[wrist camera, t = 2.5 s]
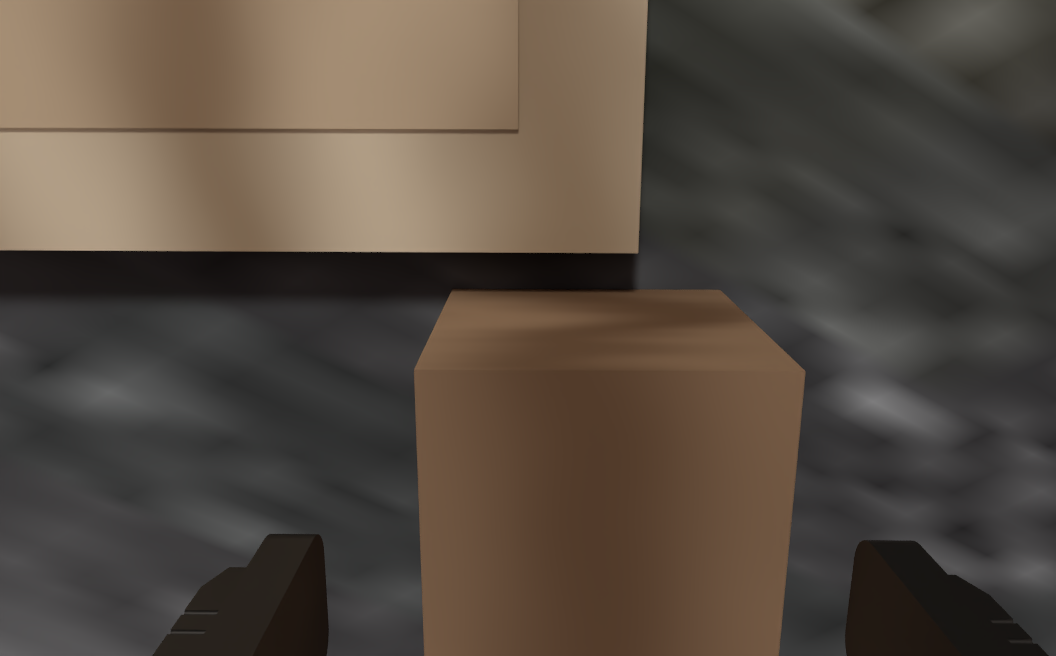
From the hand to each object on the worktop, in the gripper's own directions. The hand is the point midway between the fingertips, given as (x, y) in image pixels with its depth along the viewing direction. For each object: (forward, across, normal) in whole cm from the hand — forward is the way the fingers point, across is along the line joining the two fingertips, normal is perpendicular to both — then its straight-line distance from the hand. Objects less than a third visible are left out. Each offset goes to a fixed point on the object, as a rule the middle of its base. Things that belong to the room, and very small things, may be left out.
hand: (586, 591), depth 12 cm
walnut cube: (+7, 0, 0) cm, 7 cm away
